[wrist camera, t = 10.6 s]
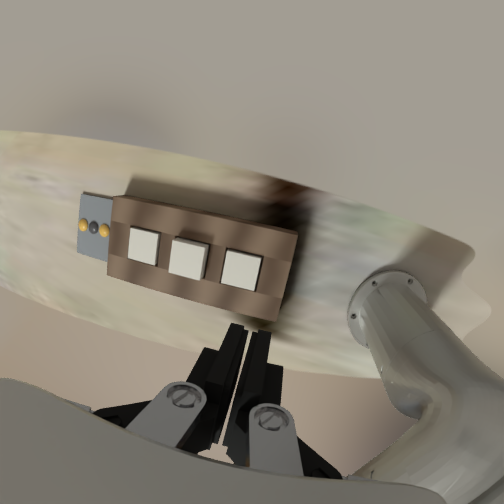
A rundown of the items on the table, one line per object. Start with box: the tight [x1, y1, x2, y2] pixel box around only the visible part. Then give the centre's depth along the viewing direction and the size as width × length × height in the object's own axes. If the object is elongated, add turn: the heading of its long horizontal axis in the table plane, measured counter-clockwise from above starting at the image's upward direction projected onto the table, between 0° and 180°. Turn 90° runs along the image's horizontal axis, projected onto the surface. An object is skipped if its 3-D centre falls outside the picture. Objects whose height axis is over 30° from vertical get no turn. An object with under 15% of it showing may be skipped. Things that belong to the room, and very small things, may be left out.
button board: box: [107, 195, 298, 322], centre depth 40 cm, size 26×12×3 cm, turn 79°
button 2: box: [128, 226, 162, 265], centre depth 40 cm, size 4×4×2 cm
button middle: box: [169, 237, 210, 281], centre depth 39 cm, size 4×4×2 cm
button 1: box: [221, 248, 262, 291], centre depth 39 cm, size 4×4×2 cm
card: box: [77, 194, 113, 262], centre depth 43 cm, size 7×10×1 cm
